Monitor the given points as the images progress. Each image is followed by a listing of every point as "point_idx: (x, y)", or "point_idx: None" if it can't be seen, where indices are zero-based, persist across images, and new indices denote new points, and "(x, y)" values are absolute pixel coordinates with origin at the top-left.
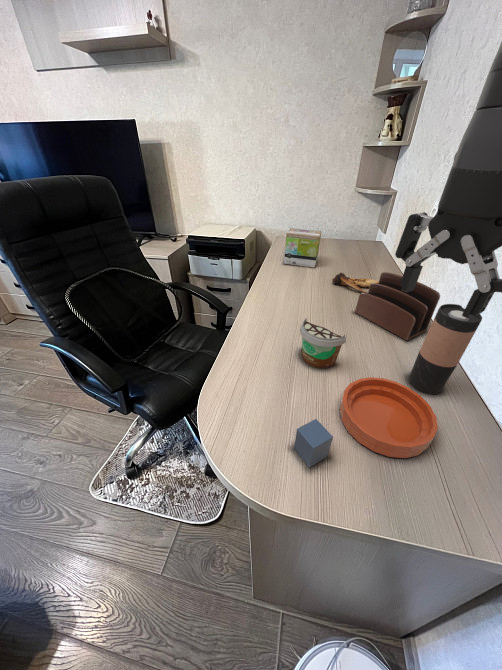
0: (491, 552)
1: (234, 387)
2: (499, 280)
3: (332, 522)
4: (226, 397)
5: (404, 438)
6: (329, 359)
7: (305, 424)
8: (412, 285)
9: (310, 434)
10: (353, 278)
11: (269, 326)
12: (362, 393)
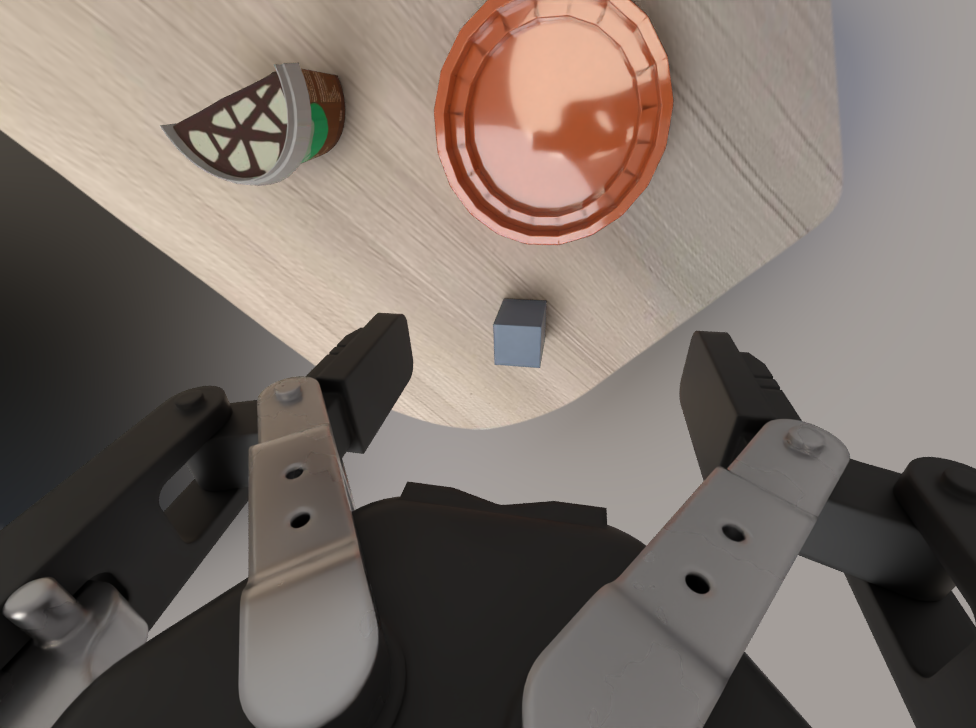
0: (836, 199)
1: None
2: (845, 545)
3: (623, 363)
4: None
5: (615, 129)
6: (331, 115)
7: (494, 347)
8: (398, 351)
9: (515, 354)
10: None
11: (135, 144)
12: (467, 113)
